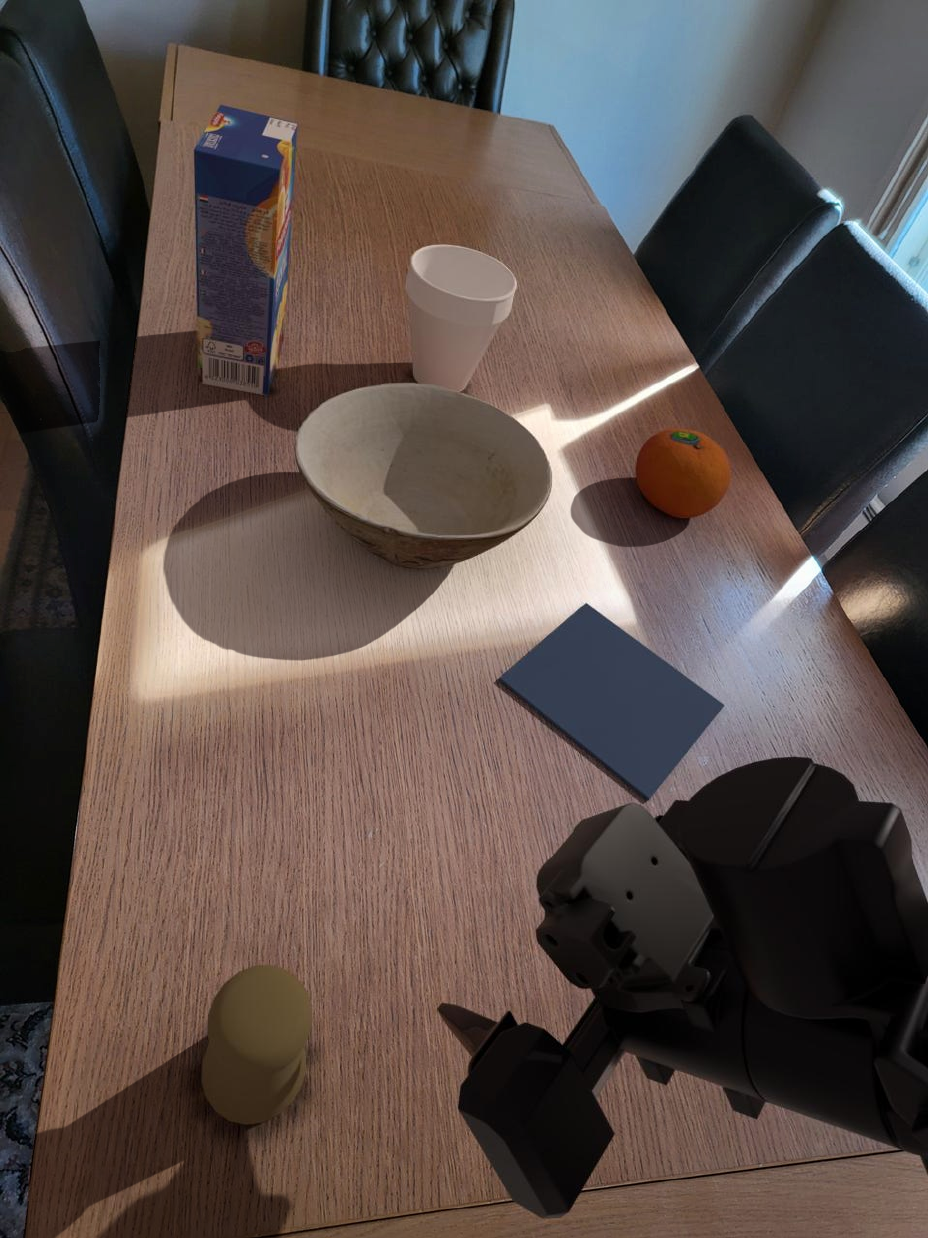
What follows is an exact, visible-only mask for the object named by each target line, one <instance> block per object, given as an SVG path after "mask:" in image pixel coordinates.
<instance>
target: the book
mask: <svg viewBox="0 0 928 1238" xmlns="http://www.w3.org/2000/svg"><path fill="white" fill-rule="evenodd" d="M498 681H499V682H500V683H501V684H502V685H504V686H505V687H506V688H507V689H509V690H510V691H511V692H512V693H513V694H515V695H516V696H518V698H519V699H521V700H522V701H523V702H524V703H526V704H527V705H528V706H529V707H531V708H532V709H533V710H535V711H536V712H537V713H538V714H539V715H541V716H542V717H543V718H544V719H546V720H547V721H548V722H549V723H551V724H552V725H553V726H554V727H556V729H558V730H559V731H560V732H562V733H563V735H565V736H567V738H569V739H570V740H572V741H573V742H574V743H575V744H577V745H578V746H579V747H580V748H582V749H583V750H584V751H585V752H587V754H589V755H590V756H591V757H593V758H594V759H595V760H596V761H597V762H599V763H600V764H601V765H603V767H605V768H606V769H608V770H609V771H610V772H611V773H612V774H614V775H615V776H616V777H617V778H619V779H620V780H621V781H622V782H624V783H625V784H626V785H627V786H629V787H630V788H631V789H632V790H634V791H635V792H636V793H637V794H638V795H640V796H641V797H642V798H643V799H645V800H646V801H647V802H648V801H650V799H651V798H652V797H653V795H655V793H656V792H657V791H658V789H659V788H660V787H661V786H662V784H663V783H664V782H665V781H666V779H668V777H669V776H670V775H671V773H672V772H673V771H674V770H675V768H676V767H678V765H679V763H680V762H681V761H682V760H683V758H684V757H685V756H686V755H687V753H688V752H689V751H690V750H691V748H692V747H693V746H694V745H695V744H696V742H697V741H698V740H699V738H700V737H701V736H702V734H703V733H704V732H705V731H706V729H707V728H708V727H709V725H711V723H712V722H713V721H714V719H715V718H716V717H717V716H718V715H719V713H720V712H721V711H722V709H723V708H724V707H725V704H724V703H723V702H721V701H720V700H719V699H717V698H716V697H715V696H714V695H712V694H711V693H709V692H708V691H707V690H705V689H704V688H702V687H701V686H699V684H697V683H695V682H694V681H693V680H692V679H690V678H689V677H688V676H686V675H685V674H683V673H682V672H680V671H679V670H678V669H677V668H675V667H674V666H672V665H671V664H670V663H669V662H667V661H666V660H665V659H664V658H662V657H661V656H659V655H658V654H656V652H654V651H653V650H651V649H649V648H648V647H647V646H645V645H644V644H643V643H641V642H640V641H639V640H637V639H636V638H635V637H633V636H632V635H631V634H630V633H628V632H627V631H625V630H624V629H623V628H621V627H620V626H618V625H617V624H616V623H614V622H613V621H612V620H610V618H608V617H606V616H605V615H604V614H602V613H601V612H600V611H598V610H596V609H595V608H594V607H593V606H591V605H590V604H589V603H587V602H585V603H584V604H583V605H582V606H581V607H579V608H578V609H577V610H576V611H575V612H574V613H572V614H571V615H570V616H569V617H568V618H567V619H566V620H564V621H563V622H562V623H561V624H560V625H559V626H558V627H557V628H555V629H554V630H553V631H552V632H550V634H549V635H547V636H546V637H545V638H543V640H541V641H540V642H539V643H538V644H537V645H536V646H535V647H533V648H532V649H531V650H530V651H529V652H528V653H527V654H526V655H524V656H523V657H522V658H521V659H520V660H519V661H518V662H516V663H515V664H514V665H513V666H511V667H510V668H509V669H508V670H507V671H506V672H505V673H503V674H502V675H501V676H500V677H499V679H498Z"/></svg>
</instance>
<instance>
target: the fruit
mask: <svg viewBox="0 0 928 1238" xmlns="http://www.w3.org/2000/svg"><path fill="white" fill-rule="evenodd" d="M731 476H732V473H731V466H730V462H729V458H728V457H727V454H726V452H725V451H724V449H723V448H722V447H721V446H720V445H719V443H717V442H716V441H714V440H713V439H711V438H710V437H709V436H707V435H705V434H703V433H702V432H699V431H696V430H692V429H691V430H690V429H681V428H668V429H664V430H661V431H659V432H657V433H655V434H653V435H652V436H650V437H649V438H648V439H647V440H646V441H645V442H644V443H643V445H642V446H641V447H640V450H639V452H638V454H637V458H636V463H635V478H636V483H637V487H638V489H639V490H640V492H641V493H642V495H643V496H644V497H645V498H646V500H647V501H648V502H649V503H650V504H651V505H653V506H654V507H655V508H657V509H658V510H660V511H662V512H663V513H665V514H667V515H669V516H671V517H673V518H678V519H689V518H696V517H700V516H702V515H704V514H706V513H708V512H710V511H711V510H713V509H714V508H716V507H717V506H718V505H719V504H720V503H721V501H722V500H723V499H724V497H725V496H726V494H727V492H728V489H729V486H730V482H731Z"/></svg>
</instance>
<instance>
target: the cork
mask: <svg viewBox="0 0 928 1238" xmlns="http://www.w3.org/2000/svg"><path fill="white" fill-rule="evenodd" d="M220 987H221V988H219V990H218V992H217V993H216V995H215V996H214V997H213V998H212V1003H211V1005H210V1007H209V1011H208V1013H207V1030H206V1032H207V1038H208V1042H209V1043H208V1045H207V1048H206V1050H205V1054H204V1056H203V1060H202V1063H201V1080H200V1081H201V1084H202V1088H203V1092H204V1095H205V1098H206V1100H207V1102H208V1103H209V1104H210V1106H211V1107H212V1109H213V1111H215V1112H216V1113H217V1114H218V1115H220V1116H221V1117H223V1118H224V1119H226V1120H227V1121H229V1122H232V1123H237V1124H240V1125H245V1126H247V1125H254V1124H261V1123H265V1122H267V1121H269V1120H272V1119H273V1118H275V1117H277V1116H279V1115H281V1113H282V1112H283V1111H285V1109H287V1108H288V1107H289V1106H290V1105H291V1104H292V1103H293V1102H294V1100H295V1099H296V1097H297V1095H298V1093H299V1092H300V1090H301V1089H302V1087H303V1083H304V1079H305V1076H306V1072H307V1051H306V1046H305V1045H306V1044H307V1042H308V1040H309V1036H310V1033H311V1028H312V1025H313V1004H312V1002H311V998H310V996H309V993H308V991H307V990H308V989H306V987H305V986H304V984H303V983H302V981H300V979H299V978H298V977H297V976H296V975H295V974H293V973H292V972H290V971H289V970H287V969H286V968H284V967H281V966H276V965H272V964H258V965H252V966H250V967H247V968H245V969H242V970H239V971H238V972H237V973H236V974H234V975H233V976H232V977H230V978H229V979H228V980H227V981H225V982H224V983H223V984H222V986H220Z"/></svg>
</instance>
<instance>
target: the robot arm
mask: <svg viewBox="0 0 928 1238" xmlns="http://www.w3.org/2000/svg"><path fill="white" fill-rule="evenodd" d="M535 882H536V883H535V884H536V890H537V893H538V901H539V904H540V906H541V907H542V908H543V911H544V916H543V920H542V921H541V923H540V924H539V925H538V926H537V928H536V929H535V938H536V942H537V943H538V945H539V947H541V949H542V950H543V951H544V953H545V954H546V955H547V957H549V959H550V960H551V961H552V962H553V964H554V965H555V966H556V968H557V969H558V971H560V972H561V974H562V975H563V976H564V978H565V979H566V980H567V982H569V983H570V984H572V985H574V986H575V987H577V988H578V989H580V990H588V989H589V990H591V993H592V994H593V996H594V997H593V999H592V1001H591V1002H590V1004H589V1005H588V1007H587V1008H586V1009H585V1010H584V1013H583V1014H582V1015H581V1017H580V1018H579V1020H578V1021H577V1022H576V1024H575V1025H574V1027H573V1029H572V1030H571V1031H570V1033H569V1034H568V1036H567V1037H566V1039H565V1040H564V1042H563V1043H561V1042H560V1041H559V1040H558V1039H557V1038H556V1037H554V1036H553V1035H552V1034H551V1033H550V1032H549V1031H548V1030H546V1029H545V1028H543V1027H540V1026H537V1025H534V1024H532V1023H529V1022H527V1021H525V1022H522V1023H520V1024H518V1022H517V1020H516V1018H515V1016H514V1014H513V1013H512V1010H507V1011H505V1013H504V1014H503V1015H502V1017H501V1018H500V1020H499V1021H496V1020H494V1019H491V1018H489V1017H487V1016H484V1015H482V1014H480V1013H478V1012H475V1011H472V1010H471V1009H468V1008H465V1007H463V1006H461V1005H458V1004H454V1003H447V1002H441V1003H440V1004H439V1005H438V1007H437V1008H436V1010H437V1012H438V1014H439V1016H440V1017H441V1019H442V1021H443V1022H444V1024H445V1026H446V1027H447V1028H448V1029H449V1031H451V1033H452V1034H453V1035H454V1037H455V1038H456V1039H457V1040H458V1042H459V1043H460V1044H461V1045H462V1047H463V1048H464V1049H465V1051H467V1053H468V1054H469V1055H470V1057H471V1058H470V1059H469V1061H468V1065H467V1076H466V1077H465V1079H463V1081H462V1083H461V1084H460V1087H459V1096H458V1103H457V1110H458V1112H459V1113H460V1115H461V1117H462V1118H463V1120H464V1121H465V1123H466V1125H467V1126H468V1129H469V1130H470V1132H471V1134H472V1135H473V1137H474V1138H475V1140H476V1142H477V1143H478V1145H479V1146H480V1148H481V1150H482V1152H483V1153H484V1155H485V1157H486V1159H487V1160H488V1163H490V1165H491V1167H492V1168H493V1171H494V1172H495V1174H496V1175H497V1177H498V1178H499V1180H500V1183H501V1184H502V1186H503V1187H504V1189H505V1191H506V1192H507V1194H508V1195H509V1197H510V1199H511V1201H512V1202H514V1203H516V1204H517V1205H518V1206H520V1207H522V1208H524V1209H525V1210H527V1211H529V1212H530V1213H532V1214H534V1215H535V1216H536V1217H539V1218H540V1219H543V1220H544V1219H545V1220H546V1219H561V1218H563V1217H564V1216H566V1215H567V1214H568V1213H570V1211H571V1210H572V1208H573V1206H574V1205H575V1203H576V1201H577V1199H578V1197H579V1196H580V1194H581V1193H582V1191H583V1189H584V1187H585V1186H586V1184H587V1183H588V1180H589V1179H590V1178H591V1176H592V1174H593V1172H594V1170H595V1169H596V1167H597V1165H598V1164H599V1163H600V1160H601V1159H602V1157H603V1156H604V1153H605V1152H606V1150H607V1149H608V1147H609V1145H610V1143H612V1142H611V1141H612V1140H613V1138H614V1136H615V1135H616V1133H615V1131H614V1129H613V1127H612V1126H611V1124H610V1121H609V1120H608V1118H607V1116H606V1114H605V1113H604V1111H603V1109H602V1107H601V1105H600V1103H599V1101H598V1100H597V1098H598V1097H599V1095H600V1094H601V1092H602V1090H603V1089H604V1087H605V1086H606V1084H607V1083H608V1081H609V1079H610V1078H611V1076H612V1075H613V1073H614V1071H615V1070H616V1068H617V1067H618V1065H619V1063H620V1062H621V1060H622V1058H623V1057H624V1055H625V1054H626V1053H627V1054H630V1055H633V1056H635V1058H636V1060H637V1062H638V1064H639V1066H640V1067H641V1070H642V1071H643V1074H644V1076H645V1077H646V1079H647V1080H650V1081H653V1082H655V1083H658V1084H661V1085H663V1086H668V1084H669V1082H670V1080H671V1078H672V1077H673V1075H674V1073H675V1071H676V1072H677V1071H678V1072H680V1073H683V1074H687V1075H689V1076H692V1077H695V1078H697V1079H699V1080H700V1079H701V1080H702V1081H706V1082H708V1083H711V1084H714V1085H717V1086H720V1087H721V1088H722V1090H723V1092H724V1094H725V1096H726V1098H727V1101H728V1103H729V1105H730V1107H731V1109H732V1111H733V1112H735V1113H739V1114H741V1115H744V1116H746V1117H749V1118H751V1119H755V1120H758V1118H759V1117H760V1115H761V1112H762V1110H763V1108H764V1107H765V1104H766V1103H767V1104H771V1105H774V1106H776V1107H780V1108H781V1109H785V1110H788V1111H791V1112H793V1113H796V1114H798V1115H802V1116H805V1117H807V1118H810V1119H813V1120H815V1121H819V1122H822V1123H824V1124H827V1125H830V1126H832V1127H835V1128H837V1129H838V1128H839V1129H842V1130H844V1131H846V1132H849V1133H853V1134H855V1135H858V1136H861V1137H863V1138H867V1139H868V1140H869V1139H870V1140H872V1141H875V1142H877V1143H881V1144H883V1145H886V1146H889V1147H892V1148H894V1149H897V1150H899V1151H904V1152H906V1153H909V1154H912V1155H914V1156H919V1158H920V1160H921V1162H922V1165H923V1167H924V1170H925V1172H926V1175H927V1176H928V898H927V896H926V893H925V890H924V886H923V885H922V882H921V880H920V877H919V874H918V871H917V868H916V866H915V863H914V858H913V843H912V837H911V833H910V830H909V828H908V825H907V822H906V819H905V817H904V814H903V811H902V809H901V807H899V806H898V805H896V804H894V803H893V802H887V801H886V802H884V801H869V800H860V798H859V796H858V792H857V790H856V788H855V784H854V783H853V782H851V780H850V779H849V778H848V777H847V776H846V775H845V774H844V773H842V772H840V771H838V770H836V769H834V768H833V767H830V766H828V765H823V764H820V763H815V762H814V760H813V758H811V757H806V756H805V757H804V756H784V757H783V756H781V757H772V758H767V759H763V760H757V761H752V762H750V763H747V764H744V765H741V766H738V767H735V768H733V769H731V770H729V771H726V772H725V773H722V774H720V775H718V776H717V777H715V778H714V779H712V780H711V781H709V782H707V783H706V784H704V785H703V786H702V787H701V788H700V789H699V790H698V791H697V792H695V793H694V794H693V795H692V796H691V797H690V798H689V800H687V799H686V800H685V799H675V800H674V801H673V803H671V805H670V806H669V808H668V809H667V810H666V812H665V813H664V814H663V815H662V814H659V815H657V816H655V817H654V816H653V815H652V814H651V812H649V810H648V809H647V808H646V807H644V805H643V806H642V805H641V804H638V803H636V802H630V803H629V802H628V803H626V804H623V805H620V806H617V807H614V808H612V809H610V810H606V811H603V812H600V813H598V814H595V815H592V816H590V817H586V818H584V819H582V820H580V821H579V822H578V823H577V824H576V825H575V827H573V831H572V832H571V834H570V835H569V836H568V837H567V838H566V840H565V841H563V842H562V844H561V846H559V848H558V849H557V850H556V851H555V852H554V854H552V856H551V857H549V858H548V859H547V860H546V861H544V863H543V864H542V866H541V867H540V868H539V870H538V872H537V876H536V881H535Z"/></svg>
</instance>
